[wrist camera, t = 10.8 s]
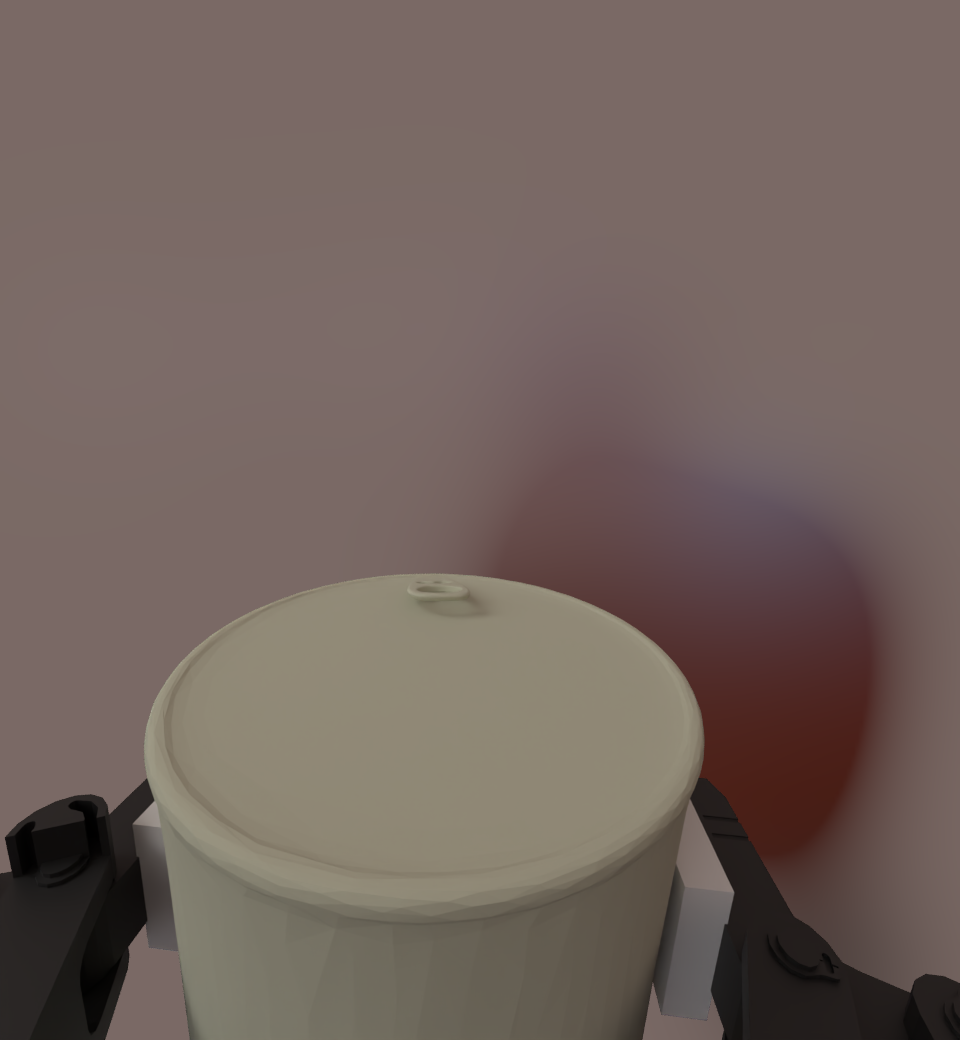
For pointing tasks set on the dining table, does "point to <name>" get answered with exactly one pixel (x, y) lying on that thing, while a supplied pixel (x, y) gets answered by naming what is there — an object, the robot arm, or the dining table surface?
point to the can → (422, 814)
